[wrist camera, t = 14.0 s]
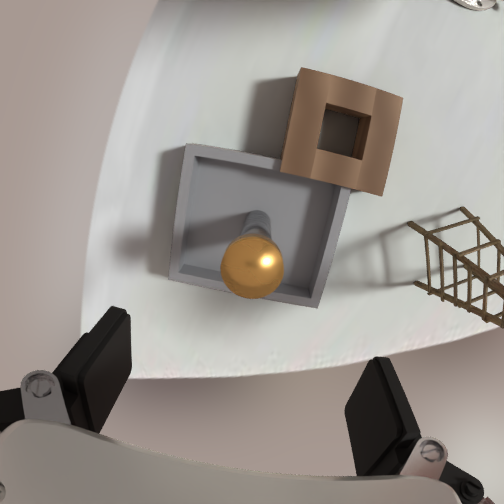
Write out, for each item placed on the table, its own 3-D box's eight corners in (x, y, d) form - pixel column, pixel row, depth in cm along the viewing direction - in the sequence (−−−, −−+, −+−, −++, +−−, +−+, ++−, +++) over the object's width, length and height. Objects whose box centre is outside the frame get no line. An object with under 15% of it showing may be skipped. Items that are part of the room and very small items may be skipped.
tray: (345, 174, 32) (353, 177, 28) (313, 294, 36) (317, 308, 33) (193, 143, 31) (186, 143, 28) (176, 267, 36) (168, 279, 33)
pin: (281, 208, 32) (290, 247, 20) (273, 246, 34) (276, 303, 22) (241, 199, 32) (226, 234, 20) (233, 238, 34) (216, 292, 22)
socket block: (388, 102, 29) (403, 97, 25) (369, 190, 32) (382, 196, 28) (297, 76, 28) (301, 67, 25) (278, 168, 32) (279, 171, 28)
